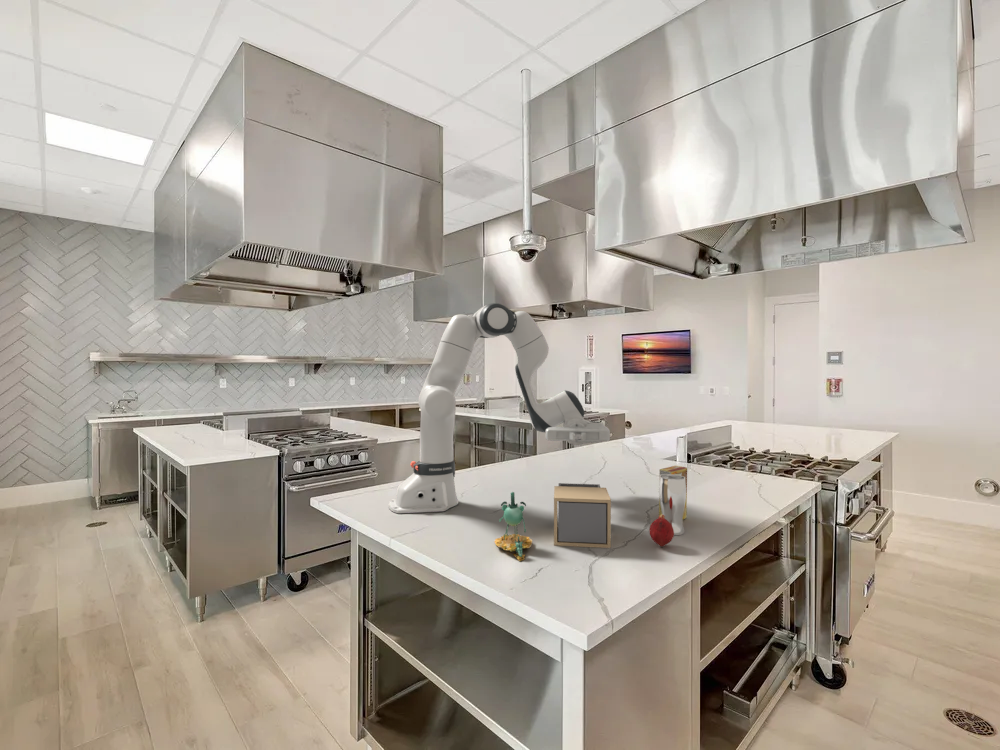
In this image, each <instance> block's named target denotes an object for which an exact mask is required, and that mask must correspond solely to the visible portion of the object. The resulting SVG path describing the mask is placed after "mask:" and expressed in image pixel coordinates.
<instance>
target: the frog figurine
mask: <svg viewBox="0 0 1000 750" xmlns="http://www.w3.org/2000/svg"><path fill="white" fill-rule="evenodd" d="M507 504H508V505H507ZM500 506H501V510H502V511H503V515H502V517H501V518H499V519H498V521H499V522H500V523H501V522H502V520H503V519H504V522H505V523H506V524H507V526H506V529H505V533H504V534H503V535H502V536H500V537H498V538H495V540H494V541H493V542H494V543H495V546H496V547H498V548H501V549H503V550H504V551H507V552H508V551H509V552H516V553H513V554H512V556H514V557H515V559H516V560H518V561H519V562H521V561H524V560H525V556H526V554H524V553H523V549H529V548H531V547H532V544H533V539H531V538H530V536H526V535H520V533H519V534H518V530H516V527H518V525H520V524H521V522H522V521H523V529H524V533H526V532H527V529H526V525H525V524H526V523H525V519H524V517H523V516H524V515H523V512H524V511H525V507H527V503H525V502H524V501H520V505H519V506H518V503H516V502H515V492H514V491H512V492H510V503H508V502H507V501H503V502H502V503H501V504H500ZM509 526H511V527H514V530H515V533H513V534H509V535H508V531H509Z"/></svg>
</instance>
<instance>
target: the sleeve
mask: <svg viewBox="0 0 1000 750" xmlns="http://www.w3.org/2000/svg"><path fill="white" fill-rule="evenodd" d="M600 487H601V486H600ZM600 487H567V486H559V485H558V486H557V485H554V487H553V488H554V491H553V546H562V547H577V548H579V547H580V548H581V547H583V548H601V549H602V548H604V549H611V548H612V544H611V542H612V541H611V539H612V538H611V537H612V526H611V525H612V522H611V521H612V520H611V519H612V501H611V496H610V494H609V492H608V489H607V487H601V488H600ZM558 501H565V502H594V503H606V543H586V542H564V541H558Z"/></svg>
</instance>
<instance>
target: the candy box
mask: <svg viewBox="0 0 1000 750" xmlns="http://www.w3.org/2000/svg"><path fill="white" fill-rule="evenodd" d="M663 474H674V475H680V476H684V477H685V483H686V501H685V507H684V512H683V520H685V519H687V517H688V516H687V511H688V509H687V505H688V503H687V502H688V497H687V496H688V467H687V466H681V465H672V466H668V467H664V468H661V469H659V476H658V477H659V478H658V479H659V481H658V483H659V482H660V475H663ZM661 514H662V511H661V506H660V499H659V498H658V517H659V516H660V515H661Z"/></svg>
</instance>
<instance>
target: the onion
mask: <svg viewBox="0 0 1000 750" xmlns="http://www.w3.org/2000/svg"><path fill="white" fill-rule="evenodd" d="M664 517H665V516H664V515H663V514H661V515H660V516H659V515H658V517H657V518H656V519H654V520H653V521H652V522H651V524H650V525H649V531H648V532H649V537H650V539H651V540H652V541H653V542H654V543H655V544H656V545H657V546H659V547H665V546H666V545H668V544H670V542H672V540H673V538H674V537H675V535H674V530H673V527H672V525H671V524H670V522H669V521H667V520H666V519H665V518H664Z"/></svg>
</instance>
